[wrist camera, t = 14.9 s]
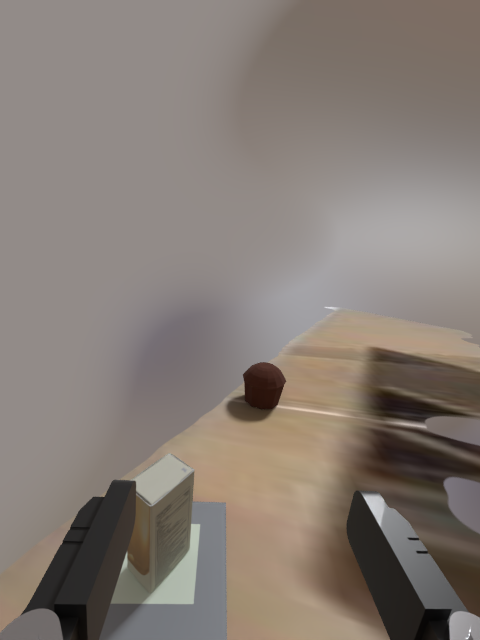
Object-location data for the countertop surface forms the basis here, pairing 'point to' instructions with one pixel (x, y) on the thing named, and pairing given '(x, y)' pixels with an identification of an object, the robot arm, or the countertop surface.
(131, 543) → the skincare box
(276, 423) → the countertop surface
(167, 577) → the plate
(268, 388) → the muffin
